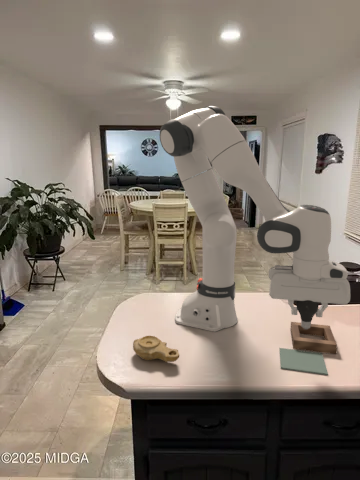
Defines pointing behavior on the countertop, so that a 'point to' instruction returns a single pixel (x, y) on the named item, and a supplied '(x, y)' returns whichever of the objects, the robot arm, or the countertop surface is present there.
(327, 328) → the socket block
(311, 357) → the rubber mat
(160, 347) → the oil lamp
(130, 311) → the countertop surface
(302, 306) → the light bulb
